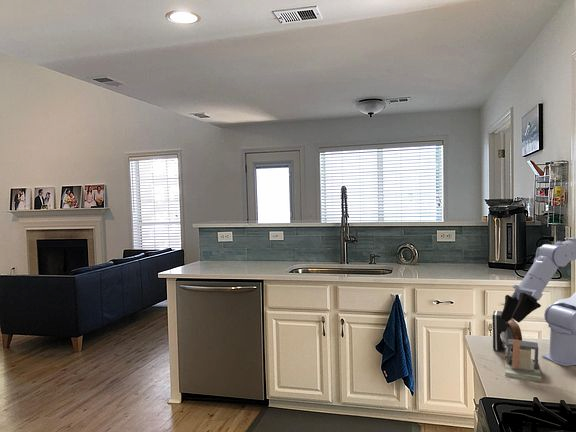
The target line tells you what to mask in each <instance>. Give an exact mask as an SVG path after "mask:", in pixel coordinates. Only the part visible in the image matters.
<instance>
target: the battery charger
mask: <svg viewBox="0 0 576 432" xmlns="http://www.w3.org/2000/svg"><path fill="white" fill-rule="evenodd" d="M502 311H503V310H493V313H492V347H493V348H492V349H493V351H500V352H503V351H505V348H506V344H505V343H504V341H503V339H502V336H501V333H502V332H506V330H507V322H505V321H504V320H503V319H501V314H502Z"/></svg>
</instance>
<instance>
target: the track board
mask: <svg viewBox="0 0 576 432" xmlns="http://www.w3.org/2000/svg"><path fill="white" fill-rule="evenodd" d="M507 356H508V354H507V355H505V364H504V366H505V368H504V369H505V372H504V373H505V375H504V376H505V377H509V378H517V379H523V380H528V381H533V382H540V383H542V376H541V375H542V374H541V369H540V364H539V362H538V369H536V368H535V364H534V359H532V358H531V360H533V365H534V372H529V371H523V370H517V369H512V367H511V357H513V355H510V364H507Z"/></svg>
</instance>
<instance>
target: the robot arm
mask: <svg viewBox="0 0 576 432" xmlns="http://www.w3.org/2000/svg"><path fill="white" fill-rule="evenodd" d="M574 260H576V237H568V239H567V240H565V241H555V243H554V244H548V243H545V244H542V245H541V246H539V247H537V249H536V252H535V257H534V259H533V264H532V265H531V266H530V267H529V269H528V271H527V272H526V274H525V276H524V277H523V279H522V280H521V282H520V283H519V284H518V285H517V284H513V285H512V289H514V291H513V292H512V293H511V295H509V294H506V295H505V296H504V305H503V309H502V310H501V311H502V314H501V319H503V320H504V321H505V322H508V321H510V320H511V319H513V320H514V321H515V322H516V323H517V324H518V323H521V322H522V321H523V320H524V319H525V318H526V317H527V316H529V315H530V314H531V313H533V312H534V311H535V310H537V309H539V308H541V307H542V305H541V304H540V303H539V302H538V301H540V300H541V298H542V297H543V295H544V294H543V292H544V290H545V289H546V287H547V285H548V284H549V282H550V281H551V279H552V278H553V276H554V275H555V273H557V270H558V269H559V267H564V268H565V267H566V266H567V265H568V264H569V262H571V261H574ZM543 316H544V320H545V322H546V323H547V324H548V325H547V326H548V328H550V331H549V333H550V334H549V353H545V354H542V355H541V356H542V357H543V358H544V359H547V360H549V361H552V362H554V363H556V364H559V365H561V366H563V367H570V366H576V291H575V292H574V293H572V295H571V296H570V297H567V298H562V299H558V300H556V302H555V303H551V304H549V305H548V306H547V307H546V308H545V311H544V315H543Z"/></svg>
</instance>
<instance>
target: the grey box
mask: <svg viewBox="0 0 576 432" xmlns="http://www.w3.org/2000/svg"><path fill="white" fill-rule="evenodd" d="M510 346H513V339H508V346H507V364H510V356H511V350H510ZM520 348H527V349H531V350H534V356H533V357H534V359H533V360H534V364H535V368H536V369H538V363H539V344H538V342H534V341H527V340H522V341H521V340H520Z"/></svg>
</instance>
